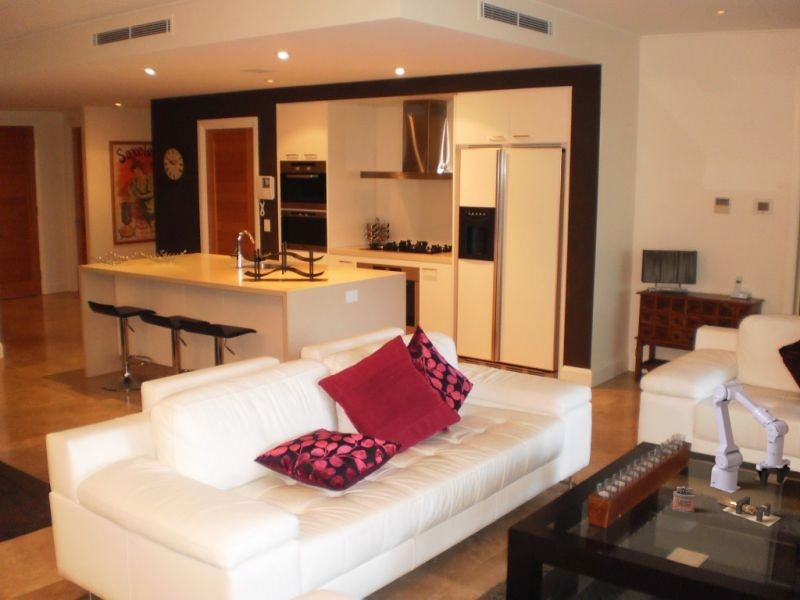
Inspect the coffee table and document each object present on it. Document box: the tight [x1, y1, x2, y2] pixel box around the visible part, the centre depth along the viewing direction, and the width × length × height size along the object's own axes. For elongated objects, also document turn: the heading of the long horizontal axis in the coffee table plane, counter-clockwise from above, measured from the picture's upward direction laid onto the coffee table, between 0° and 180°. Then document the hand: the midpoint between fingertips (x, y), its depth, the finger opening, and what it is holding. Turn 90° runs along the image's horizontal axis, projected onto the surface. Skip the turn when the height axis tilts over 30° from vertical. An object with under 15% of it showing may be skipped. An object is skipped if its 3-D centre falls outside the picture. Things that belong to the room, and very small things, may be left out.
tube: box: [716, 495, 757, 515], centre depth 321 cm, size 14×3×3 cm, turn 42°
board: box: [722, 495, 781, 527], centre depth 317 cm, size 18×10×5 cm, turn 42°
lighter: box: [672, 486, 696, 514], centre depth 320 cm, size 8×3×10 cm, turn 68°
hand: (771, 484), depth 322 cm, fingers open, 7 cm apart
